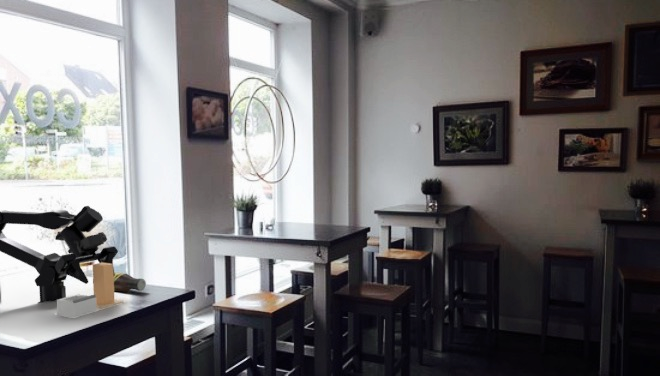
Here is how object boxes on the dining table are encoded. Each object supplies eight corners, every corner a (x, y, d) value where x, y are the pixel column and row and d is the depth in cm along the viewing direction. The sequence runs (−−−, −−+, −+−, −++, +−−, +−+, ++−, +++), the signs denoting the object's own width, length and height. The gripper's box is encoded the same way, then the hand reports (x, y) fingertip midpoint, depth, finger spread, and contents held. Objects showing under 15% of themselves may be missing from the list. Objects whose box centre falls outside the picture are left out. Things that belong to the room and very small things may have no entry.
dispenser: (53, 317, 143) (52, 297, 143) (106, 301, 159) (106, 283, 159) (73, 321, 139) (72, 301, 139) (126, 304, 155) (125, 286, 154)
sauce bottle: (105, 270, 179) (150, 274, 172) (104, 287, 178) (149, 292, 172) (91, 271, 173) (136, 276, 166) (90, 289, 172) (135, 294, 166)
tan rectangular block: (94, 302, 153) (92, 264, 152) (103, 300, 156) (102, 262, 155) (105, 304, 150) (103, 266, 150) (114, 302, 153) (113, 263, 153)
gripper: (59, 228, 146) (84, 269, 142) (113, 221, 163) (137, 257, 158) (44, 253, 150) (68, 292, 146) (98, 243, 167) (121, 279, 162)
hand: (100, 279), depth 153 cm, fingers open, 9 cm apart
